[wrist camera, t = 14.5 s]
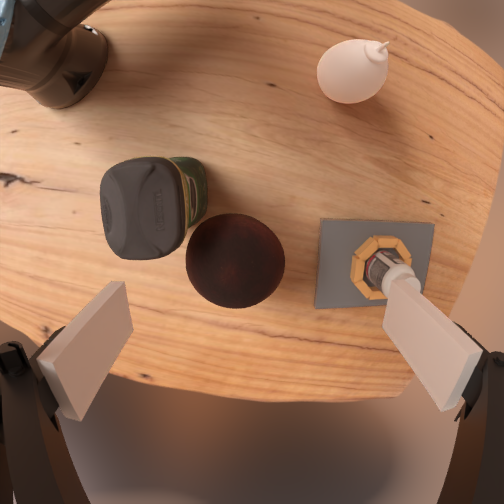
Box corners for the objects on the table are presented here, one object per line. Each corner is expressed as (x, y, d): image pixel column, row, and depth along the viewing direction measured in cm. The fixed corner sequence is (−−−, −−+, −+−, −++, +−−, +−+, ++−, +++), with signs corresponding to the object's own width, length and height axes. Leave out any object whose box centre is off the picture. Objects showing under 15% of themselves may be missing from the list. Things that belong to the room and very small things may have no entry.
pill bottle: (371, 288, 43) (398, 317, 34) (358, 261, 42) (385, 287, 33) (398, 269, 43) (429, 294, 33) (386, 243, 41) (419, 263, 32)
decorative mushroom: (206, 278, 44) (189, 331, 29) (194, 206, 40) (166, 229, 26) (278, 269, 43) (293, 320, 29) (271, 196, 40) (284, 213, 26)
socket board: (320, 218, 41) (325, 222, 38) (430, 222, 42) (440, 226, 39) (313, 305, 45) (317, 314, 42) (417, 299, 46) (425, 306, 43)
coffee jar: (152, 160, 38) (86, 161, 21) (206, 155, 38) (173, 148, 21) (157, 225, 41) (100, 269, 23) (210, 223, 41) (183, 268, 23)
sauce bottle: (364, 108, 36) (433, 81, 19) (315, 112, 37) (362, 79, 19) (352, 61, 34) (410, 13, 17) (303, 63, 34) (339, 5, 17)
